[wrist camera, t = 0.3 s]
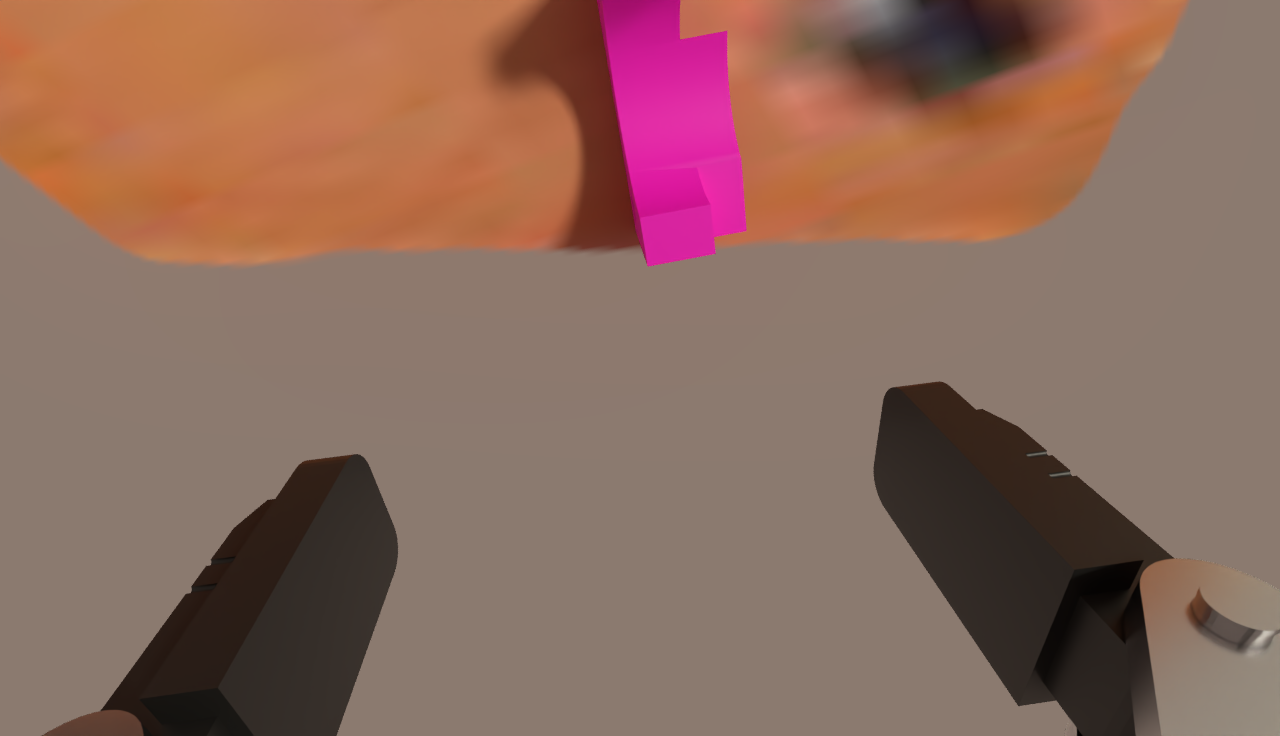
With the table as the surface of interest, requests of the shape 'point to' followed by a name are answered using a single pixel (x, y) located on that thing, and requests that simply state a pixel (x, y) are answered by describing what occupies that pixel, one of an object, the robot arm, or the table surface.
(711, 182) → the toy block
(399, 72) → the table surface
